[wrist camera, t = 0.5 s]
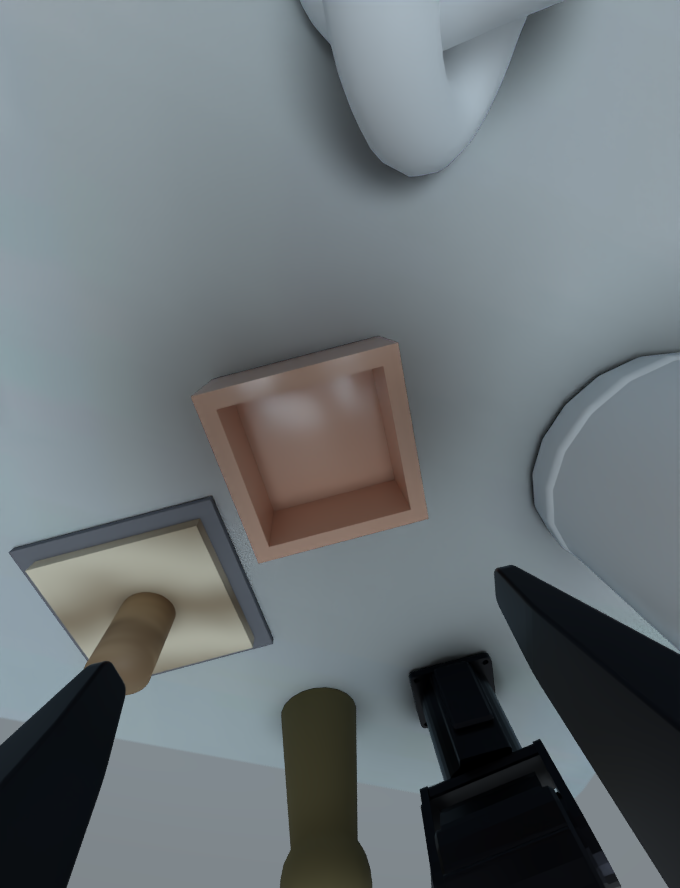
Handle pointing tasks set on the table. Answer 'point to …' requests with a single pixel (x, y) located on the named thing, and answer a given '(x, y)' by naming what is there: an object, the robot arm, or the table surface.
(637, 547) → the bottle
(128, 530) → the mat
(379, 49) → the white decorative knot
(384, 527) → the pink open box
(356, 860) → the olive pestle
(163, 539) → the lid
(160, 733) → the table surface
